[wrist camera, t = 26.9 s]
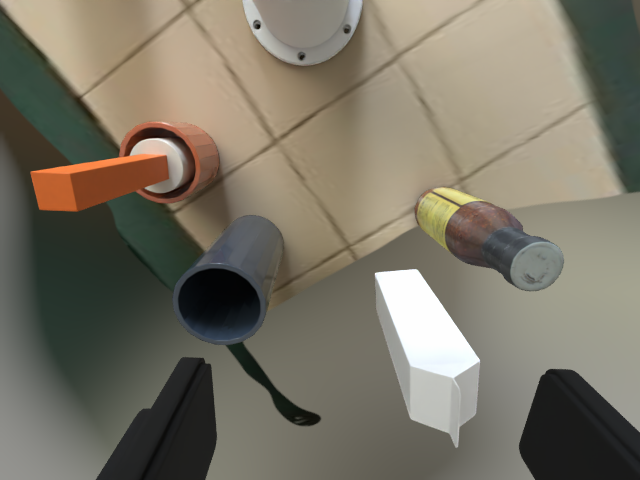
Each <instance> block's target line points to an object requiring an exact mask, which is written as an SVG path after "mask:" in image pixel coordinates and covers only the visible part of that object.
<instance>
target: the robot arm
mask: <svg viewBox="0 0 640 480" xmlns="http://www.w3.org/2000/svg"><path fill="white" fill-rule="evenodd" d="M362 7H363V0H243V8H244V11H245V15H246V19H247V21H248V24H249V26H250V28H251V30H252V32H253V34H254V35H255V37H256V38H257V40H258V41H259V42H260V44H261V45H262V46H263V47H264V48H265V49H266V50H267V51H268V52H269V53H271V54H272V55H273V56H274V57H276V58H278V59H280V60H282V61H283V62H286V63H290V64H293V65H300V66H308V65H316V64H319V63H322V62H325V61H327V60H328V59H330V58H332V57H333V56H335V55H336V54H337V53H338V52H339V51H341V50H342V49H343V48H344V47H345V45H346V44H347V43H348V41H349V40H350V39H351V37H352V35H353V33H354V31H355V29H356V27H357V25H358V22H359V19H360V15H361V11H362ZM257 25H260V26H261V27H260V29H257V28H256V26H257ZM345 29H348V31H349V32H348V33H347V34H346V33H345V32H344V30H345ZM301 55H303V56H304V59H303V60H300V56H301ZM216 440H217V432H216V420H215V408H214V395H213V382H212V370H211V365H210V364H205V360H204V358H188V357H183V358H181V359H180V361H179V362H178V364H177V366H176V367H175V369H174V371H173V373H172V374H171V376H170V378H169V379H168V381H167V382H166V384H165V386H164V388H163V389H162V391H161V393H160V394H159V396H158V398H157V399H156V401H155V403H154V404H153V406H152V408H151V409H142V410H141V411H140V412H139V413H138V414H137V416H136V417H135V419H134V420H133V422H132V423H131V425H130V426H129V428H128V430H127V431H126V433H125V434H124V436H123V438H122V439H121V441H120V442H119V444H118V445H117V447H116V449H115V450H114V452H113V454H112V455H111V457H110V458H109V460H108V461H107V463H106V464H105V466H104V468H103V469H102V471H101V473H100V474H99V476H98V477H97V479H96V480H205V478H206V476H207V472H208V469H209V465H210V463H211V460H212V457H213V454H214V450H215V446H216ZM519 450H520V454H521V457H522V459H523V460H524V462H525V464H526V465H527V467H528V468H529V470H530V472H531V473H532V475H533V477H534V478H535V480H640V432H639V431H638V430H637V429H635V428H634V427H633V426H632V425H631V424H630V423H629V422H628V421H627V420H626V419H625V418H624V417H623V416H622V415H621V414H620V413H619V412H618V411H617V410H616V409H615V408H613V407H612V406H611V405H610V404H609V403H608V402H607V401H606V400H605V399H604V398H603V397H602V396H601V395H600V394H599V393H598V392H597V391H596V390H595V389H594V388H593V387H591V386H590V385H589V384H588V383H587V382H586V381H585V380H584V379H583V378H582V377H581V376H580V375H579V374H578V373H576V372H575V371H573V370H566V369H549V370H548V371H546V373H545V374H544V375H542V376H541V378H540V381H539V384H538V387H537V390H536V393H535V397H534V399H533V403H532V406H531V409H530V412H529V415H528V418H527V421H526V424H525V427H524V430H523V434H522V437H521V440H520V443H519Z"/></svg>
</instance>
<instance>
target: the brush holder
mask: <svg viewBox="0 0 640 480" xmlns="http://www.w3.org/2000/svg"><path fill="white" fill-rule="evenodd" d="M166 137H181V138H182V139H183V140H184V141H185V142H186V144H187V145H188V146H189V148H190V149H191V151H192V154H193V156H194V159H195V167H196V173H195V177H194V181H192V182H190V183H188V184H185V185H183V186H181V187H179V188H176V189H174V190H172V191H169V192H166V193H155V192H152V191H149V190H147V189H145V188H142V189H139V190H137V191H136V192H137V193H139V194H140V195H142V196H143V197H145V198H146V199H149V200H151V201H154V202H157V203H174V202H178V201H181V200H183V199H185V198H187V197H189V196H191V195H193V194H194V193H196V192H198V191H200V190H202V189H203V188H205V187H206V186H208V185H209V184H210V183H211V182H212V181H213V180H214V178H215V177H216V174H217V172H218V169H219V154H218V150H217V148H216V145H215V144H214V142H213V140H212V139H211V137H210V136H209V135H208V134H207V133H206V132H205V131H203V130H202V129H200V128H199V127H197V126H195V125H192V124H188V123H177V122H146V123H143V124H140V125H137V126H136V127H134V128H133V129H132V130H131V131H129V132H128V133H127V134H126V136H125V138H124V140H123V141H122V143H121V148H120V154H119V158H120V157H127V156H130V154H131V151H132V149H133V148H134V146H135V145H136V144H138V143H139V142H141V141H143V140H146V139H153V138H166Z"/></svg>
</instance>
